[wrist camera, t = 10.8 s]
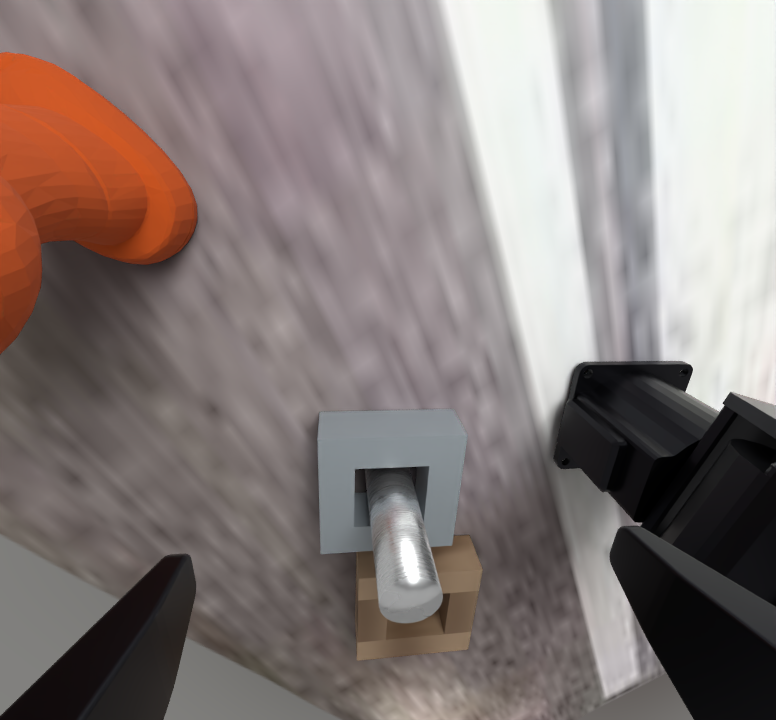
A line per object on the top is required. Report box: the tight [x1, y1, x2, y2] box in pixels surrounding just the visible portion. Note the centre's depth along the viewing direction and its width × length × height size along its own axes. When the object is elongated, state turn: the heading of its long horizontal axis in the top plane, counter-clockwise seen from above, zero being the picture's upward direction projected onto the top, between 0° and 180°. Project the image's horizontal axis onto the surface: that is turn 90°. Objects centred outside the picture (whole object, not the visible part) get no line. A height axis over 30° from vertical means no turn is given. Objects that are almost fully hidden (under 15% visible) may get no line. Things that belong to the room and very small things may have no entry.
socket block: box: [355, 535, 483, 661], centre depth 25 cm, size 7×7×2 cm
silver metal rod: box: [365, 467, 443, 623], centre depth 18 cm, size 2×2×8 cm
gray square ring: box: [318, 409, 468, 554], centre depth 21 cm, size 7×7×2 cm
